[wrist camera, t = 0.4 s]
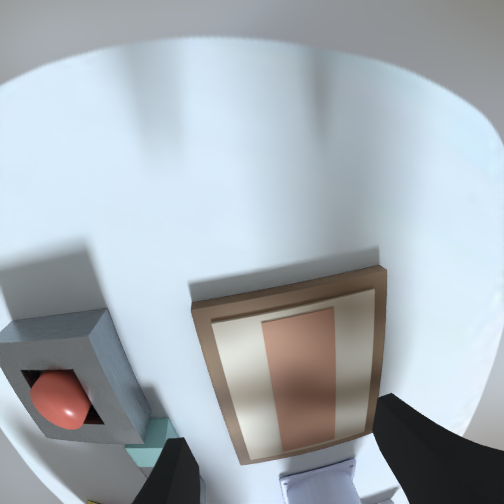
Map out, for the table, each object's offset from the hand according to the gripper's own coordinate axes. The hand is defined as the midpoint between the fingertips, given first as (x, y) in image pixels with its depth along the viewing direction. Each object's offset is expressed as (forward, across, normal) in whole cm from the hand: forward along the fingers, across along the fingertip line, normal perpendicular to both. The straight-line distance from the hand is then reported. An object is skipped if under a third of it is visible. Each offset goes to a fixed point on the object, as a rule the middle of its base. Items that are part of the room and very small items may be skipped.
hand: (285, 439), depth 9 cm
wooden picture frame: (+10, -2, +6) cm, 11 cm away
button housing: (+10, +14, +2) cm, 17 cm away
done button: (+7, +13, +2) cm, 15 cm away
